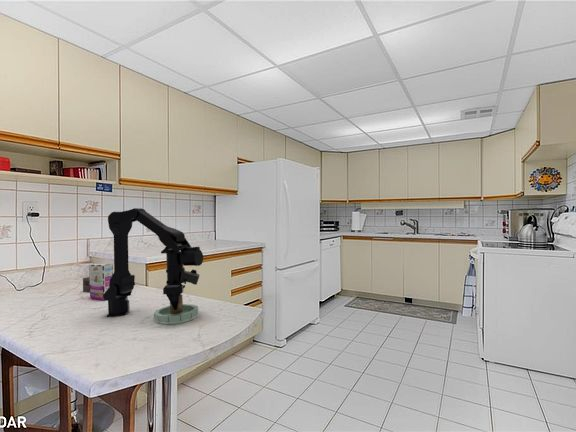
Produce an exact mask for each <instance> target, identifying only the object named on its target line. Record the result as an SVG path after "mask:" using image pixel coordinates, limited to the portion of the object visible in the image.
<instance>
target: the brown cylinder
mask: <svg viewBox="0 0 576 432" xmlns="http://www.w3.org/2000/svg"><path fill="white" fill-rule="evenodd" d="M183 304H184V302H183V293H181V294H180V295H179V302H178V308H177V310H174V309H173V307H172V305H171V303H170V302H169V306H170V313H171V314H178V313H182V312H183Z"/></svg>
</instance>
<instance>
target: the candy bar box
mask: <svg viewBox="0 0 576 432" xmlns="http://www.w3.org/2000/svg"><path fill="white" fill-rule="evenodd" d="M88 268H89V269H88V270H89V272H88V273H89V276H88V277H90V292H89V299H90V300H94V301H95V300H96V301H104V302H105V301H106V300H104V297H103V295H104V293H105V292H106V291H107V290H108V288H109V284H110V279H111V277H112V275H113V273H114V263H91V264H89V265H88Z"/></svg>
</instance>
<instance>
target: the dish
mask: <svg viewBox="0 0 576 432" xmlns="http://www.w3.org/2000/svg"><path fill="white" fill-rule="evenodd" d="M198 316H199V306H198V305H195V304H191V303H190V304H189V303H183V312H182V313H178V314H171V313H170V305H168V306H164V307H161V308H158V309H156V310H154V313H153V320H154V323H156V324H159V325H177V324H183V323H186V322H187V323H188V322H190V321H193V320H195V319H196V318H198Z"/></svg>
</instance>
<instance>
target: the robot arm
mask: <svg viewBox="0 0 576 432" xmlns="http://www.w3.org/2000/svg"><path fill="white" fill-rule="evenodd" d="M107 222H108V228H109V231H110V232H111V233H112V235H113V275H112V277H111V279H110V284H109V288H108V290H107V291H106V292H105V293H104V295H103V297H104V300H105V301H107V308H108V309H107V311H108V313H107V315H106V317H108V318H109V317H116V316H125V315H127V314H128V313H129V312H130V310H131V309H130V300H129V298H128V297H129V296H132V292H133V290H134V287H135V286H136V282H135V280H136V279H135V277H136V275H135V274H131V272H130V269H129V233H130V232H131V230H132V227H133V223H134V222H138V223H140V224H141V225H143V226H144V227H145V228H146V229H148V230H149V231H151V232H152V233H153V234H155V235H156V236H157V237H158V240H159V241H160V243H161V244H163V246H164V248H163V250H161V252H160V253H161V254H166V256H165V257H166V269H165V273H166V283H165V285H164V287H163V289H162V291H163V293H162V294H163V295H166V297H167V299H168V301H169V304H170V303H171V305H172V307H173V309H174V310H177V308H178V302H179V295H180V294H183V293H184V291H185V290H184V289H185V287H186V284H187V283H189V284H192V285H198V281H199V278H200V274H199V273H198V271H197V270H196V269H191V271H189V270H188V271H187V270H186V269H185V266H187V267H188V266H190V267H191V266H193V267H194V266H197V267H198V266H201V265H202V264H203V261H204V254H203V251H202V250H201V248H200V247H201V246H192V245H191V243H189V242H188V240H187V239H186V237H185V233H184V232H183V231H181V230H179V229H176V228H175V227H170V226H169V225H166V224H165V223H163V222H162V221H160V220H159V219H157V218H156V217H154V216H153V215H152V214H150V213H149V212H147V211H146V210H145V209H144V208H141V207H139V208H132V209H131V208H130V209H129V210H123V211H111V212H110V214H108V216H107ZM183 284H184V285H183Z"/></svg>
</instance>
